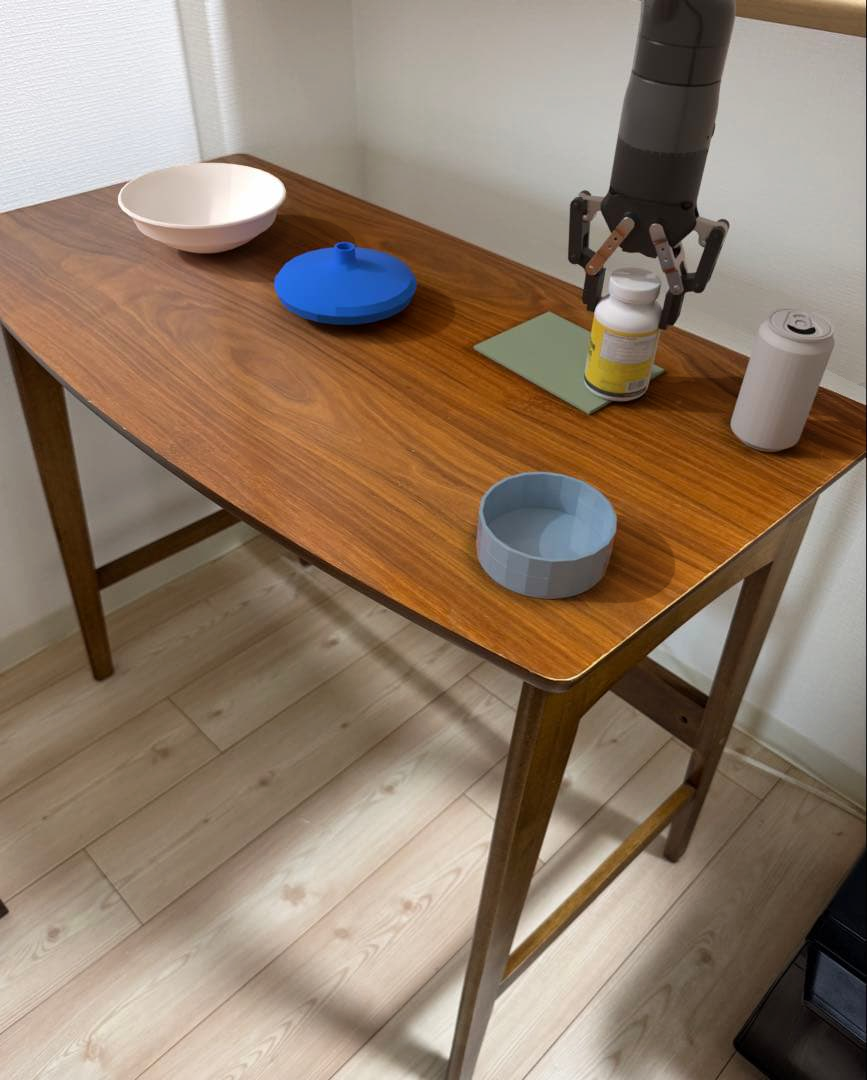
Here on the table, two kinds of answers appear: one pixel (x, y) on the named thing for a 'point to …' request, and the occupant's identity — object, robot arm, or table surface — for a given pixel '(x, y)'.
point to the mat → (549, 358)
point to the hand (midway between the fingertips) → (628, 316)
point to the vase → (345, 285)
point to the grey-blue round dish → (545, 534)
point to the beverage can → (782, 378)
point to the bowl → (203, 205)
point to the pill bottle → (624, 336)
